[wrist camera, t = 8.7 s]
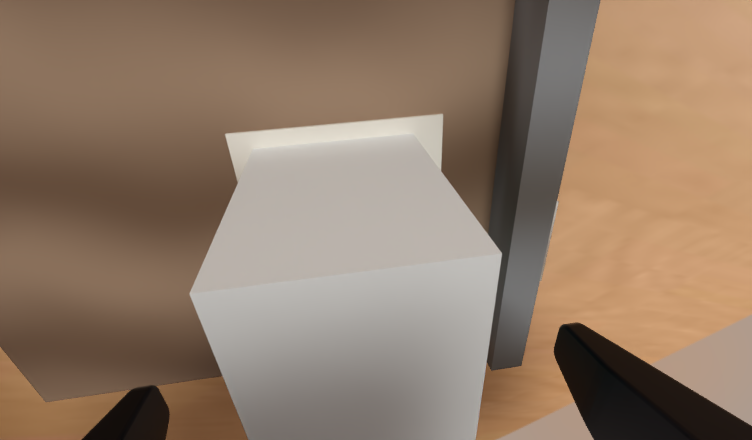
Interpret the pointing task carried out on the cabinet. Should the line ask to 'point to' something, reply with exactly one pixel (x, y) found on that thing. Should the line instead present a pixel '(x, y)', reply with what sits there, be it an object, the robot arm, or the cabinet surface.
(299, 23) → the shelf board
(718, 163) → the cabinet surface
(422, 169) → the carton
